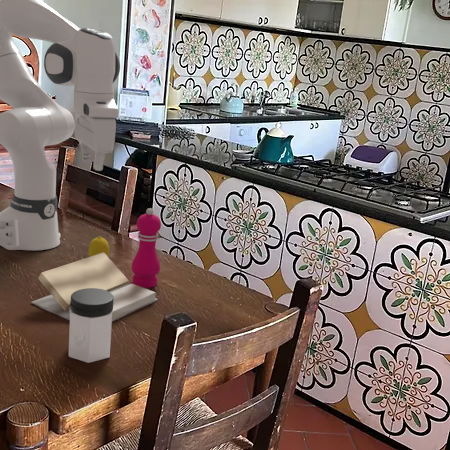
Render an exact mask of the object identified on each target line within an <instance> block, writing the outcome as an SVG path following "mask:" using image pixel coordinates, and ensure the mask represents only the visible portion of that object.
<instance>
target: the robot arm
mask: <svg viewBox="0 0 450 450" xmlns="http://www.w3.org/2000/svg"><path fill="white" fill-rule="evenodd" d="M13 35H15V36H17V37H20V38H25V39H26V38H27V39H33V40H39V41H45V42H50V43H52V44H51V45H50V46H49V47H48V48H47V50H46V52H45V54H44V58H43V68H44V71H45V74H46V76H47V78H48V79H49V80H50V81H51V82H52V83H53V84H55V85H59V86H63V87H64V86H65V87H66V86H69V87H73V86H74V89H73V112H74V113H75V118H74V115H73V114H72V113H71V112H70V110H69V109H67V108H66V107H64V106H62V105H61V104H59V103H57V102H56V101H55V100H54V99H53V98H52V97H51V95H49V94H48V93H47V92H46V91H45V90H44V88H42V86H41V85H40V84H39V83H38V81H37V80H36V78H35V76H34V74H33V73H32V71H31V69H30V67H29V66H28V64H27V63H26V60H25V59H24V57H23V55H22V53H21V51H20V50H19V48H18V47H17V46H18V45H17V44H16V43H15V41H14V38H13ZM115 48H116V47H115V41H114V38H113V36H112V35H111V34H110V33H108V32H107V31H103V30H100V29H95V28H90V27H87V28H85V27H83V28H80V27H79V26H77V25H76V24H75V23H73V22H72V21H70V19H68V18H67V17H65V16H64V15H62V14H60V13H59V12H58V11H57V10H56V9H54V8H52V7H51V6H49V5H48V4H47V3H45V2H44V1H43V0H0V101H2V102H4V103H5V104H7V105H9V106H10V107H12V108H11V109H8V110H6V111H3V112H1V113H0V145H1V146H2V147H4V148H5V150H6V151H7V153H8V155H9V156H10V158H11V161H12V166H13V170H14V173H13V174H14V193H12V194H8V195H7V197H8V198H7V199H8V200H10V204H9V205H8V207H6V208H5V209H3V210H2V211H0V246H1V247H3V248H4V249H6V250H8V251H17V250H18V251H20V250H21V251H43V250H45V251H46V250H50V249H53V248H56V247H58V246H59V245H60V244H61V240H60V239H61V233H60V231H59V221H58V212H57V209H58V196H57V194H56V192H57V191H56V190H57V189H56V188H57V170H56V167H55V166H54V165H53V164H52V163H50V162H49V161H48V159H47V156H46V152H45V151H46V150H45V147H46V146H52V145H58V144H60V143H63V142H64V141H67V140H69V139H70V138H71V137H72V136H73V135H74V137H75V139H76V140H77V141H79V143H80V149H81V153H82V155H81V156H82V157H81V160H82V162H84V163H91V162H92V154H91V151H93V155H94V161H93V163H92V165H93V166H92V167H93V170H95V171H97V172H98V171H99V172H101V171H103V169H104V161H105V159H106V154H112V153H113V150H114V148H115V140H116V130H117V129H116V128H117V127H116V126H117V122H116V119H118V118H119V112H120V111H119V108H118V106H117V104H116V101H115V89H114V83H115V82H116V80H117V79H118V77H119V75H120V70H121V61H120V59H119V56H118V54H117V52H116V49H115Z"/></svg>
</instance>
